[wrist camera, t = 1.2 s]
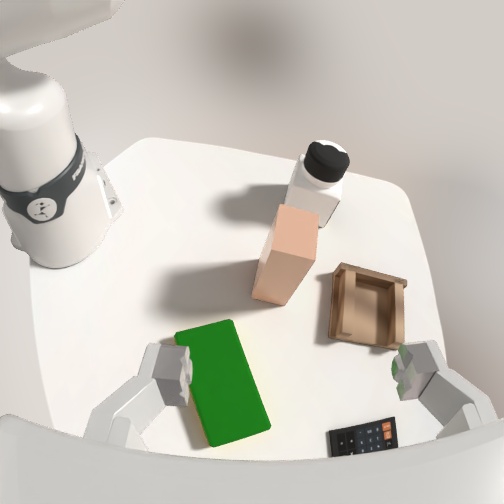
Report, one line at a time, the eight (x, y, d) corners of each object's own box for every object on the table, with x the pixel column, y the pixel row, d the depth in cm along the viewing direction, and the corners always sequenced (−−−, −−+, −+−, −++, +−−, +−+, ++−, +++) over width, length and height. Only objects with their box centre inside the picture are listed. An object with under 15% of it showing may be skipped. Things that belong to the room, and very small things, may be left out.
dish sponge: (209, 447, 31) (210, 448, 29) (174, 338, 37) (173, 332, 35) (267, 428, 34) (272, 428, 31) (229, 324, 40) (232, 317, 38)
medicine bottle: (324, 229, 49) (354, 176, 39) (280, 215, 49) (302, 158, 39) (328, 196, 53) (355, 144, 43) (288, 183, 53) (309, 128, 43)
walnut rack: (397, 349, 41) (408, 344, 38) (328, 337, 40) (336, 330, 38) (397, 288, 46) (406, 279, 44) (333, 271, 46) (341, 262, 43)
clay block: (284, 305, 42) (315, 260, 32) (250, 297, 41) (271, 249, 31) (290, 266, 45) (319, 214, 35) (259, 259, 45) (279, 203, 35)
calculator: (391, 417, 36) (403, 414, 33) (398, 493, 30) (411, 495, 27) (328, 430, 34) (338, 430, 32) (335, 512, 28) (345, 517, 26)
